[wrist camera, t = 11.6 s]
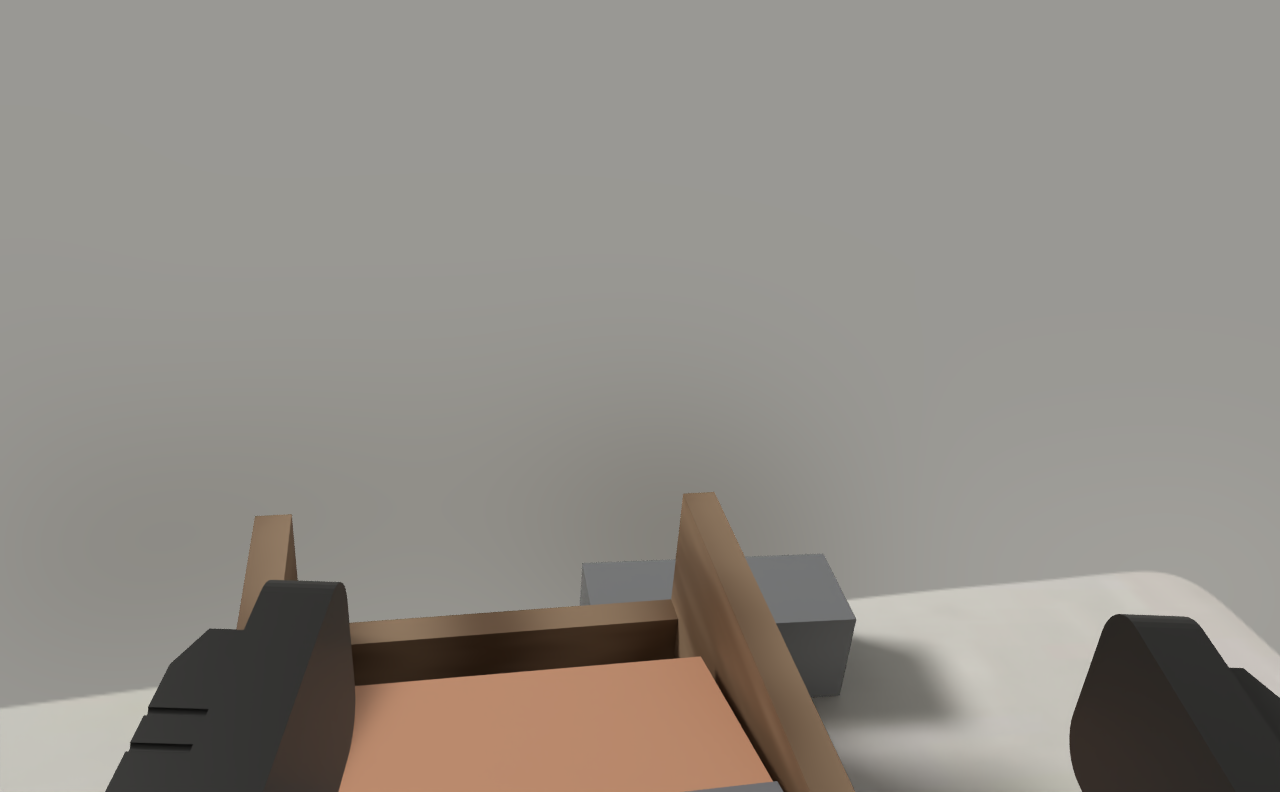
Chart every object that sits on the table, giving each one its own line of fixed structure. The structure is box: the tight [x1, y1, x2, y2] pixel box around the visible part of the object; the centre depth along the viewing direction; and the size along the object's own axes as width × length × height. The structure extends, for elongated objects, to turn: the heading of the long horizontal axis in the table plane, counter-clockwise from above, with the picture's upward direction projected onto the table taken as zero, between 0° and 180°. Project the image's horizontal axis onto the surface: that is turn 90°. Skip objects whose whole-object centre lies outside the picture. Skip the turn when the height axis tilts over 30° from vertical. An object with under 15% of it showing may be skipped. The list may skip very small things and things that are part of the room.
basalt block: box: [580, 554, 856, 697], centre depth 48 cm, size 4×4×11 cm
